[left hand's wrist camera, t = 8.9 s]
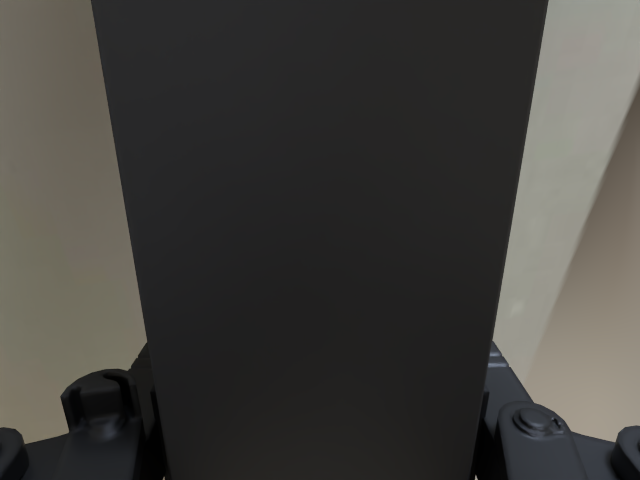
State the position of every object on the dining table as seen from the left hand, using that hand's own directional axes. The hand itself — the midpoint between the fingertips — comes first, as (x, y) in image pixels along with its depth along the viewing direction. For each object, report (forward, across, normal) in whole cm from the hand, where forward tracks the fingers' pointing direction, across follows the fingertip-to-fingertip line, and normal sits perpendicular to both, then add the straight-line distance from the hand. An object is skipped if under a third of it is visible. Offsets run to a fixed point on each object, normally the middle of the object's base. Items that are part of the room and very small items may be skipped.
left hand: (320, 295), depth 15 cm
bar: (+1, 0, -10) cm, 10 cm away
